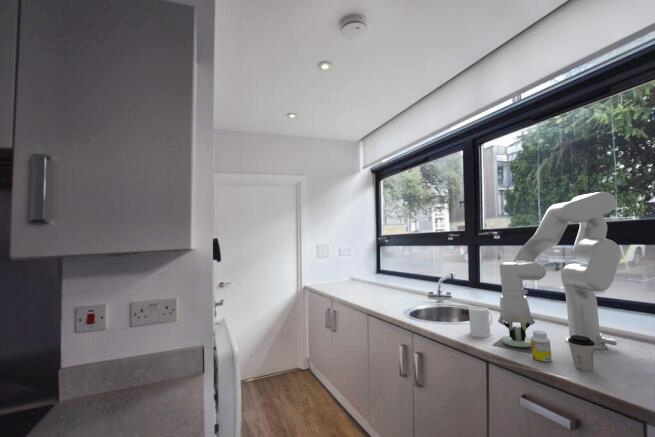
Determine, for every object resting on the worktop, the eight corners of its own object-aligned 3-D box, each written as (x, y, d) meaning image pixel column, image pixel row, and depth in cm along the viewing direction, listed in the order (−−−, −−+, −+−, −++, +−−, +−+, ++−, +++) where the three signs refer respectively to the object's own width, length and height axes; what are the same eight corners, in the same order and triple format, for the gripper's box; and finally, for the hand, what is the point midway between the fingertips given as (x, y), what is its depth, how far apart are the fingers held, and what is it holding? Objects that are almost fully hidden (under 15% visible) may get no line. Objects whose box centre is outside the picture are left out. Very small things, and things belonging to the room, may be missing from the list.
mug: (487, 330, 144) (485, 304, 144) (501, 336, 136) (499, 308, 136) (465, 333, 141) (463, 307, 141) (479, 339, 132) (477, 311, 133)
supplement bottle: (535, 357, 111) (532, 328, 112) (553, 361, 107) (550, 331, 108) (530, 362, 108) (528, 332, 108) (550, 366, 104) (547, 335, 104)
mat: (542, 345, 123) (542, 343, 123) (532, 355, 113) (532, 353, 113) (503, 338, 133) (503, 336, 133) (491, 346, 123) (491, 345, 123)
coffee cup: (603, 372, 98) (600, 340, 98) (583, 374, 97) (580, 341, 98) (583, 363, 104) (580, 333, 105) (564, 365, 104) (561, 335, 105)
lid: (538, 341, 123) (536, 326, 123) (530, 349, 115) (528, 333, 116) (507, 336, 131) (506, 322, 131) (498, 343, 123) (497, 328, 124)
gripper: (532, 291, 125) (538, 337, 124) (488, 291, 130) (493, 336, 129) (539, 294, 118) (545, 343, 117) (492, 295, 123) (497, 342, 122)
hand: (518, 339), depth 123 cm, fingers closed on lid, 2 cm apart
